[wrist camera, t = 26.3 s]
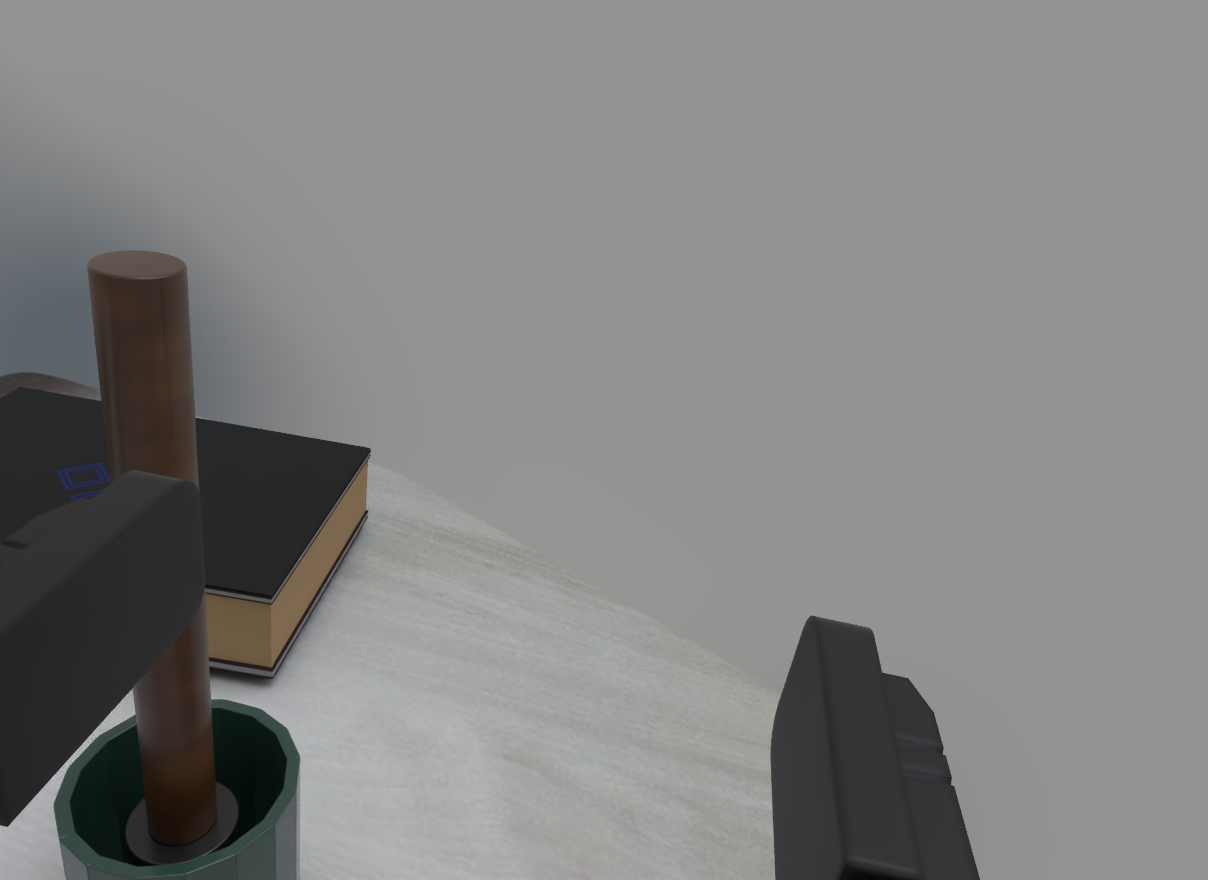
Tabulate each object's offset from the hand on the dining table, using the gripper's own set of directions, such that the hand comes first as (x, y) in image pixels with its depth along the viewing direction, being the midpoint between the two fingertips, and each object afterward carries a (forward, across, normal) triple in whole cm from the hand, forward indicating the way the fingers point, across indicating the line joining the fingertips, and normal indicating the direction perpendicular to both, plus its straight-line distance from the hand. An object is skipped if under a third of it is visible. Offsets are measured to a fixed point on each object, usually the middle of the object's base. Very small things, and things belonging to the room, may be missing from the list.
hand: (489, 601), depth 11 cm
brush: (+12, +13, +29) cm, 34 cm away
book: (+34, +30, +30) cm, 54 cm away
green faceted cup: (+12, +13, +30) cm, 35 cm away
